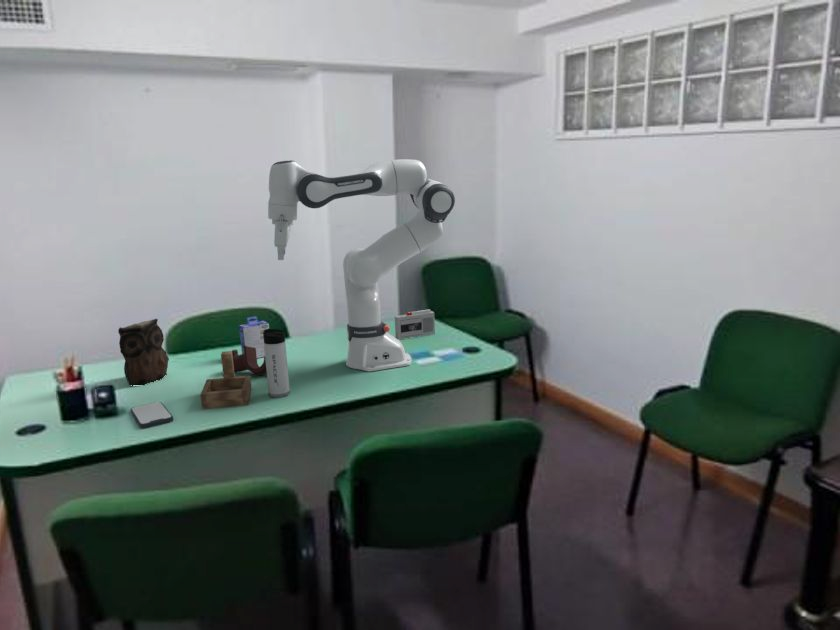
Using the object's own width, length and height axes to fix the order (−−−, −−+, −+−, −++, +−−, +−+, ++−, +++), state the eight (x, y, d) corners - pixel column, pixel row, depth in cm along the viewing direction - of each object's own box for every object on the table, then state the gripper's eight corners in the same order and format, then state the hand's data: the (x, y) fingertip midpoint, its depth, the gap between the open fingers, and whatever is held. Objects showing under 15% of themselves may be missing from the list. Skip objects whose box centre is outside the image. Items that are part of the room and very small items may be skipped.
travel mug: (279, 388, 197) (273, 326, 192) (294, 392, 193) (288, 329, 188) (263, 395, 192) (257, 331, 187) (278, 399, 188) (272, 334, 183)
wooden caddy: (252, 385, 200) (248, 349, 197) (248, 404, 185) (244, 365, 182) (209, 389, 198) (205, 353, 195) (202, 409, 182) (197, 369, 180)
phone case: (129, 413, 183) (140, 430, 170) (129, 408, 183) (139, 425, 170) (161, 405, 188) (174, 422, 175) (161, 400, 187) (174, 416, 174)
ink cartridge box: (267, 351, 235) (263, 314, 231) (272, 355, 230) (269, 316, 227) (241, 357, 229) (237, 318, 226) (246, 360, 225) (242, 321, 221)
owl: (172, 373, 214) (164, 316, 209) (158, 386, 202) (150, 326, 197) (134, 375, 214) (125, 317, 209) (118, 388, 202) (108, 328, 197)
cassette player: (398, 340, 244) (397, 315, 242) (395, 338, 247) (394, 313, 244) (434, 334, 251) (434, 309, 248) (431, 332, 253) (431, 308, 250)
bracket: (271, 371, 205) (268, 341, 206) (225, 379, 209) (222, 349, 211) (280, 372, 211) (277, 342, 212) (235, 380, 215) (232, 351, 217)
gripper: (291, 217, 188) (290, 263, 192) (293, 211, 208) (292, 252, 211) (270, 216, 187) (269, 262, 191) (274, 209, 207) (273, 251, 210)
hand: (281, 257), depth 201 cm, fingers open, 8 cm apart
